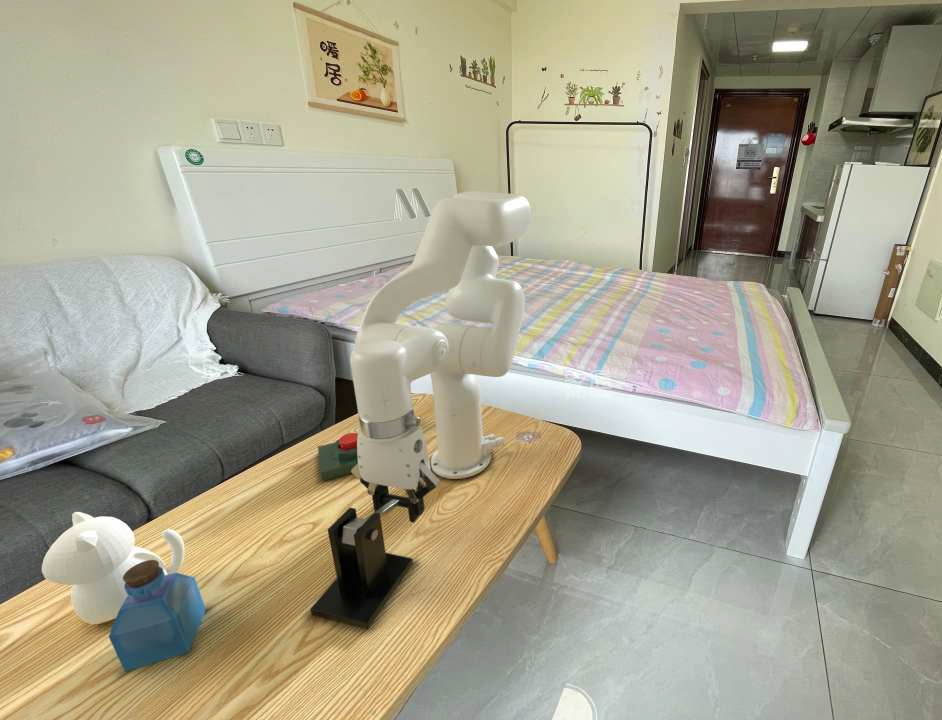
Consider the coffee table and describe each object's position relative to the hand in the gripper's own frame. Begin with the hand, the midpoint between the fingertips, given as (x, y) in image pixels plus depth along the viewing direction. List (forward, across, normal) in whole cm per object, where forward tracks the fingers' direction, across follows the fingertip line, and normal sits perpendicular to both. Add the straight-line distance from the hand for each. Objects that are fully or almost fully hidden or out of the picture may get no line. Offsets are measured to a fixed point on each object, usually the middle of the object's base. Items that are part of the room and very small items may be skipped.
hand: (399, 512), depth 73 cm
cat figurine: (+6, +31, +18) cm, 36 cm away
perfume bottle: (+6, +20, +22) cm, 30 cm away
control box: (+6, +23, -17) cm, 29 cm away
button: (+2, +23, -17) cm, 29 cm away
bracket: (+6, 0, +10) cm, 11 cm away
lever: (-3, 0, +5) cm, 6 cm away
